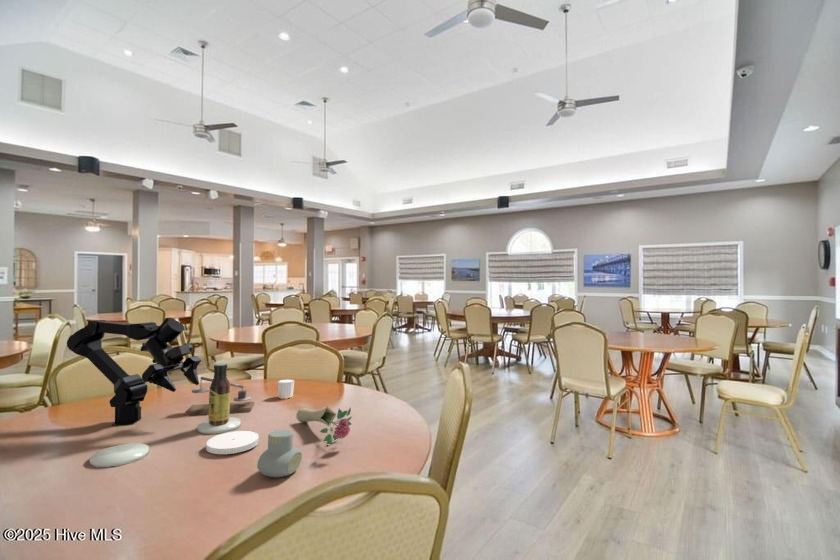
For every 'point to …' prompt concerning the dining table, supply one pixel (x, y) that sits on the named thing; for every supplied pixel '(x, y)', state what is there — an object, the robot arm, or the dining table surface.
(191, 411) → the balance scale
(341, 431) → the flower vase
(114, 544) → the dining table surface
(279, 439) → the air freshener
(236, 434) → the plastic lid
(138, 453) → the dish left
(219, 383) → the sauce bottle
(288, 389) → the white short cylinder
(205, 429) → the dish right
